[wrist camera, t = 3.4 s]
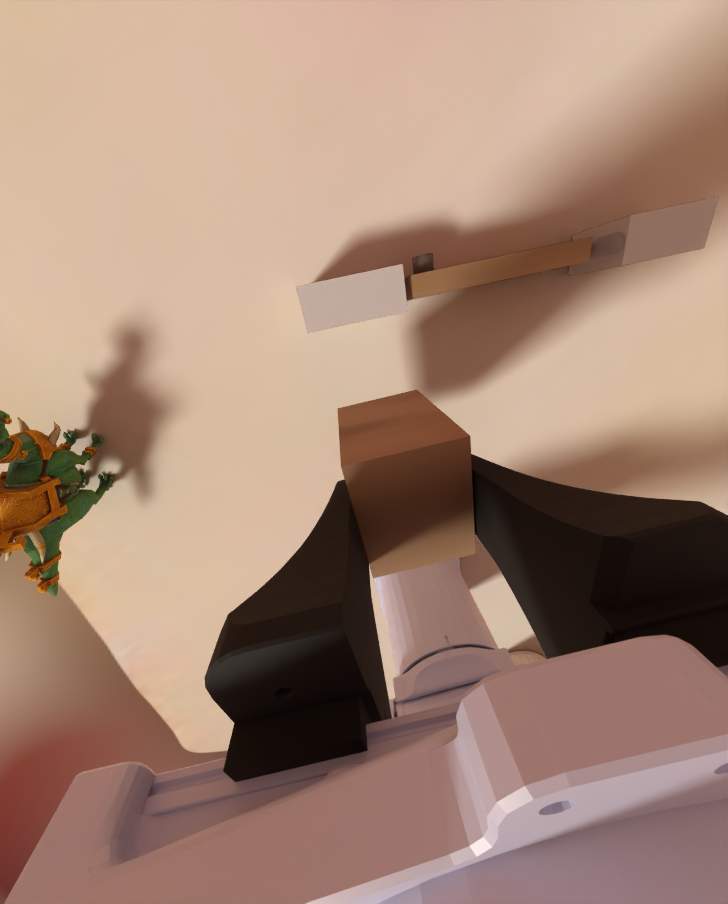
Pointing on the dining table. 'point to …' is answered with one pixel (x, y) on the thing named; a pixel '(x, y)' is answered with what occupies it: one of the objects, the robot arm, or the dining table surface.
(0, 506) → the figurine
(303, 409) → the dining table surface
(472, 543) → the block
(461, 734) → the robot arm
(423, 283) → the door
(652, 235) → the wall frame
